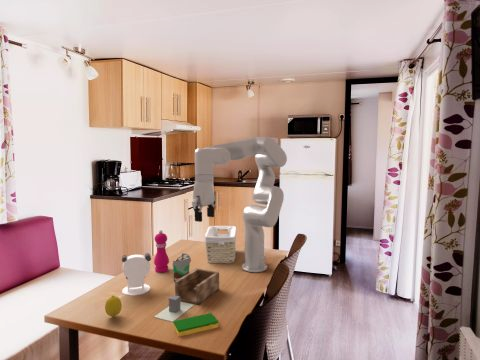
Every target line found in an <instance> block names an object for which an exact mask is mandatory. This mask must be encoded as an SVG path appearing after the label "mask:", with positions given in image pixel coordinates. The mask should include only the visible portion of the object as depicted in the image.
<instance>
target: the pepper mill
mask: <svg viewBox="0 0 480 360" xmlns="http://www.w3.org/2000/svg"><path fill="white" fill-rule="evenodd" d="M167 240H168V235H167V234H166V233H164V232H163V230H158V233H157V234H155V236H154V241H155V247H156V253H155V255H154V259H153V264H154V266H155V267H154V270H155V272H156V273H165V272H168V271H169V264H170V258H169V255H168V254H167V252H166V251H167V250H166V247H167V242H168V241H167Z"/></svg>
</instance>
